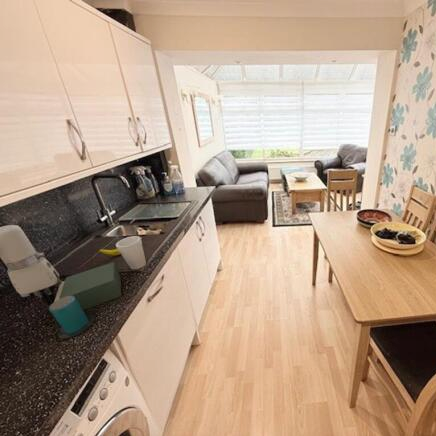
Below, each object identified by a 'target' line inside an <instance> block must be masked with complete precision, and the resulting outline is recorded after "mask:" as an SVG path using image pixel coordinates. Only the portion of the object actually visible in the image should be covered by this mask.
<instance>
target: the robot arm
mask: <svg viewBox="0 0 436 436" xmlns="http://www.w3.org/2000/svg"><path fill="white" fill-rule="evenodd" d="M0 258H1V259H2V260H3V262H4V263H5V265H6V266H7V267H8V271H6V272H7V275H8V277H9V280H10V282H11V284H12V286H13V288H14V289H15V291H16V292H17V293H18V294H19V295H20V297H21V298H26V297H27V298H28V297H37V298H38V299H41V301H42V302H43V303H44V304H46V305H47V306H51V305H52V304H53V303H54V301H55V298H56V294H55V293H54V290H55V288H57V287H59V286H60V285H61V284H62V282H63V280H62V279H61V278H60V274H59V272H58V271H57V270H56V269H55V267H54V266H53V265H52V264H51V263H50V262H49V260H47V259H46V258H45V252H38V250H36V249H35V247H34V246H33V244H32V243H31V242H30V239H29V238H28V236H27V235H26V233H25V232H24V230H23V229H22V227H20V225H17V224H8V225H3V226H0ZM44 288H45V290H44V291H43V290H42V289H44Z"/></svg>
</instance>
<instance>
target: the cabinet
mask: <svg viewBox="0 0 436 436" xmlns="http://www.w3.org/2000/svg"><path fill="white" fill-rule="evenodd" d="M64 281H65V282H64V285H63V288H62V292H61V295H60V298H63V297H66V296H74V297H75V298H76V300H77V302H78V303H79V305H80V306H81V308H82V310H83V311H84V312H85V311H87V310H88V309H91V308H94V307H96V306H99V305H102V304H104V303H107V302H110V301H112V300H115V299H117V298H120V297H122V276H121V274H120V272H119V270H118V268H117V266H116V264H115V262H114V261H113V262H109V263H105V264H104V265H101V266H97V267H94V268H91V269H88V270H85V271H82V272H79V273H76V274H72V275H70V276H67V277H65V279H64ZM60 298H59V299H60Z"/></svg>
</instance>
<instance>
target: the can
mask: <svg viewBox="0 0 436 436" xmlns="http://www.w3.org/2000/svg"><path fill="white" fill-rule="evenodd" d="M48 310H49V312H50V313H51V315H52V316H53V318H54V319H55V320H56V322H57V323H58V325H59V327H60V328H61V327H62V329H63V330H64V332H65V333H72V332H75V331H77V330H79V329H81V328H82V327H84V326H85V325H86V324H87V322H88V318H87V316H86V315H85V314H86V312H85V310H84V311H83V310H82V308H81V306H80V305H79V303H78V302H77V300H76V298H75V297H74V296H66V297H63V298H60V299H58V300H57V301H55V302H54V303H53V304H50V305H49V307H48Z"/></svg>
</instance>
